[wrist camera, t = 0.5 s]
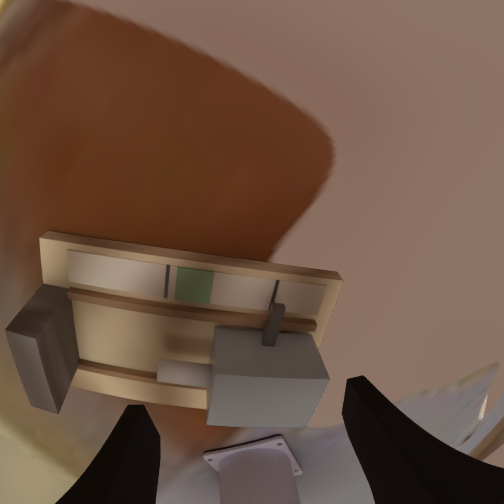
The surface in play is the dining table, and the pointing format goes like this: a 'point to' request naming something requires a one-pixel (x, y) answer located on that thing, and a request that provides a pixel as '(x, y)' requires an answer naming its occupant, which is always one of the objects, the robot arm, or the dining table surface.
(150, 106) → the dining table surface
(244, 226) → the dining table surface
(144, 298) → the scale board
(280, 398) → the gauge carriage
